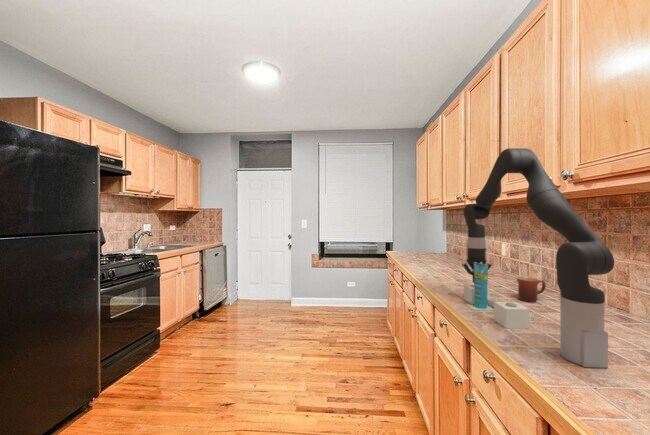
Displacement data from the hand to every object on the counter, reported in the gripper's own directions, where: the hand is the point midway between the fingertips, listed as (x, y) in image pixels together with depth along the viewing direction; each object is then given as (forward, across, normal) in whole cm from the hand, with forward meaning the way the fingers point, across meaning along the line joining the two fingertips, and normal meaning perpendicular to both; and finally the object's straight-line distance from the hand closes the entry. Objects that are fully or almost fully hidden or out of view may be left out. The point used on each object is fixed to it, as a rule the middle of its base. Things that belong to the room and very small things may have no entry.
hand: (476, 283), depth 131 cm
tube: (+8, -2, -9) cm, 12 cm away
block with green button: (+9, 0, -26) cm, 28 cm away
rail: (+8, +4, -13) cm, 16 cm away
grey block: (+8, 0, 0) cm, 9 cm away
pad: (+8, -2, -8) cm, 12 cm away
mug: (+9, +26, +3) cm, 28 cm away
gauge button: (+5, 0, 0) cm, 5 cm away
